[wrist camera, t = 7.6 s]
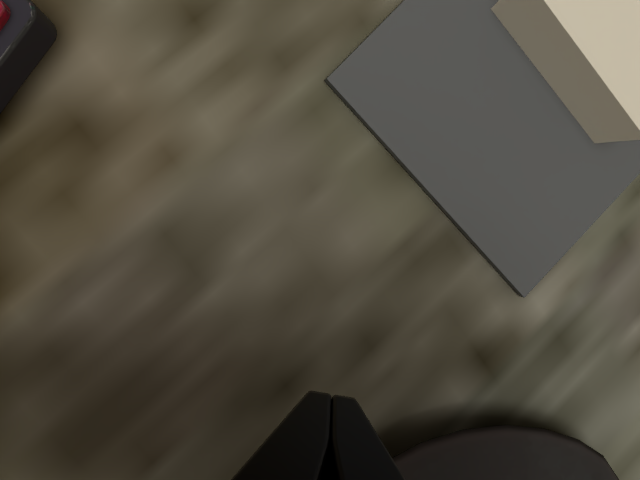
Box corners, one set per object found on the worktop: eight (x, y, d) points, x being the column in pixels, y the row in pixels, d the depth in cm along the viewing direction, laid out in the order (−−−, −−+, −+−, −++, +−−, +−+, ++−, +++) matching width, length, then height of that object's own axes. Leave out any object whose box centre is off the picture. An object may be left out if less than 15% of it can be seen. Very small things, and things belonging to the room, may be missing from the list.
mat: (518, 295, 22) (524, 297, 22) (324, 80, 19) (326, 78, 19) (819, -29, 23) (829, -33, 23) (678, -277, 20) (687, -285, 20)
